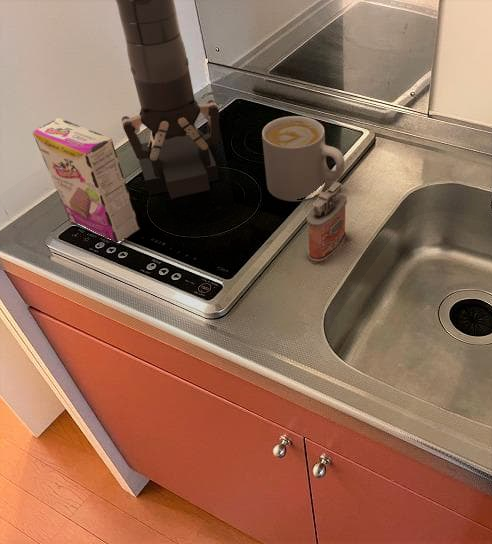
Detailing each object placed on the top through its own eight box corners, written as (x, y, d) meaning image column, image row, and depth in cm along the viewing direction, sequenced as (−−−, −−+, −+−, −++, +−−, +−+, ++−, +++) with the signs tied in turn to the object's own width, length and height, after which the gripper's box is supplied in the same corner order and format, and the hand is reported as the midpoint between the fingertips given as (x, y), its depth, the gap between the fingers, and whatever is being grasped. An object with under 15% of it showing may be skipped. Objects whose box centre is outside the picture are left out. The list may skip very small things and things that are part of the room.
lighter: (322, 267, 82) (321, 212, 75) (303, 259, 83) (300, 204, 76) (351, 236, 87) (352, 182, 80) (332, 229, 88) (332, 175, 81)
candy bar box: (68, 223, 90) (29, 131, 79) (92, 207, 93) (58, 115, 82) (118, 247, 86) (84, 153, 75) (141, 229, 89) (113, 136, 78)
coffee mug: (255, 189, 96) (249, 137, 89) (289, 161, 102) (285, 110, 95) (322, 215, 91) (321, 161, 84) (353, 184, 97) (355, 131, 90)
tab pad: (170, 198, 85) (166, 182, 83) (157, 154, 94) (153, 138, 92) (210, 189, 87) (207, 173, 85) (192, 147, 96) (189, 131, 94)
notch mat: (148, 195, 96) (144, 180, 93) (139, 159, 104) (135, 144, 102) (219, 180, 98) (216, 165, 96) (204, 146, 107) (201, 131, 105)
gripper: (206, 49, 82) (222, 151, 93) (103, 66, 78) (133, 170, 90) (218, 70, 77) (234, 175, 88) (108, 89, 73) (140, 196, 85)
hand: (183, 172), depth 89 cm, fingers closed on tab pad, 6 cm apart
